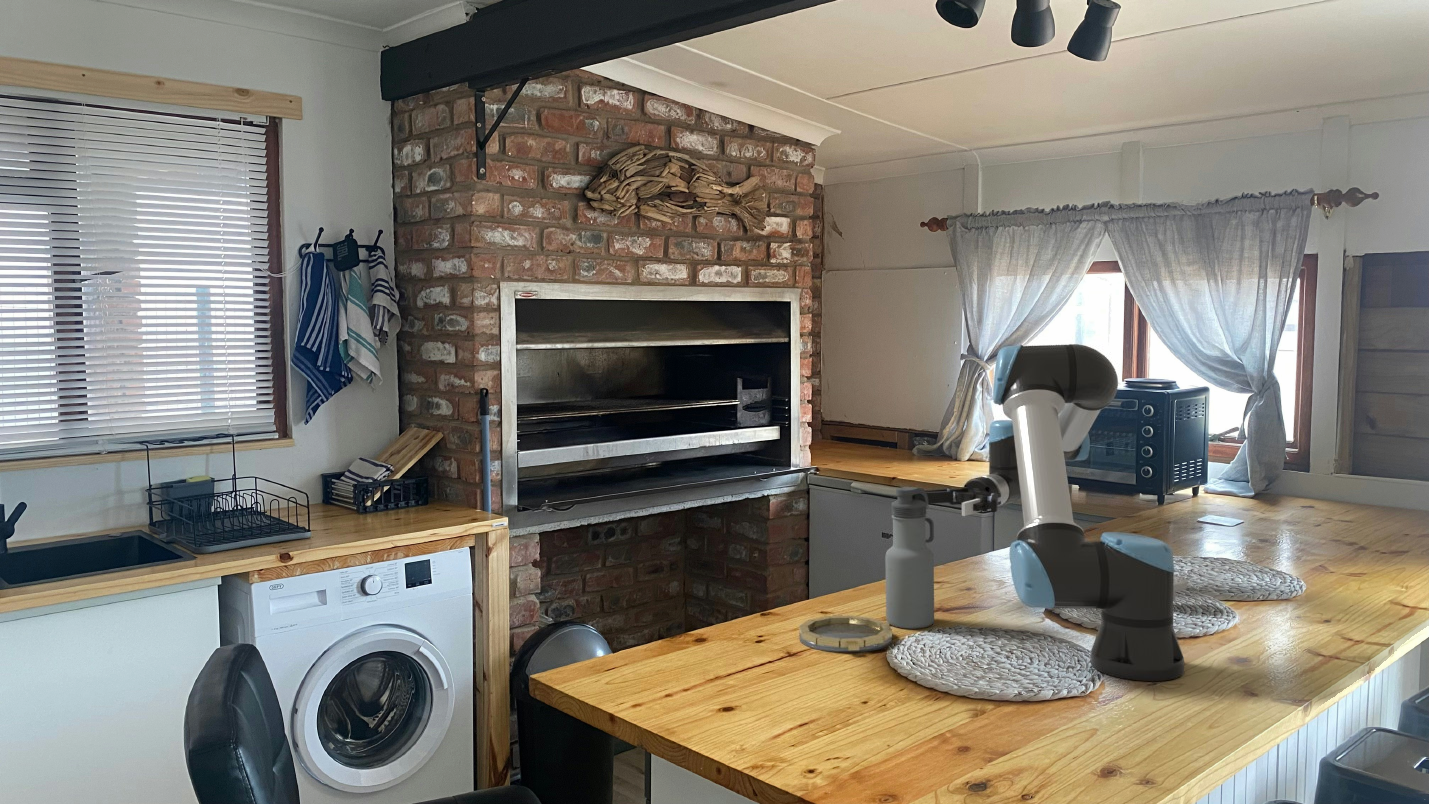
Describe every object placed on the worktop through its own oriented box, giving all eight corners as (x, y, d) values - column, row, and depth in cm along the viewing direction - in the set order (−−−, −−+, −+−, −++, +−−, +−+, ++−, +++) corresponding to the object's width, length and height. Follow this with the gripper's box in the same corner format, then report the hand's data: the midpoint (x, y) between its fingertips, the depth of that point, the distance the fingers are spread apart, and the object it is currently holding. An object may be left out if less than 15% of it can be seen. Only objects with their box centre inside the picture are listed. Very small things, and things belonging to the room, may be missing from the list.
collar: (902, 654, 189) (902, 642, 189) (805, 657, 188) (805, 645, 188) (881, 622, 210) (880, 611, 210) (794, 624, 210) (794, 614, 210)
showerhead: (1132, 569, 222) (1181, 570, 220) (1132, 601, 222) (1181, 603, 220) (1141, 579, 212) (1192, 580, 210) (1141, 613, 213) (1192, 614, 211)
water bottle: (901, 613, 217) (900, 483, 215) (943, 620, 210) (942, 486, 209) (877, 624, 209) (875, 489, 207) (920, 632, 202) (918, 493, 201)
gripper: (1036, 515, 223) (988, 530, 207) (937, 503, 240) (885, 517, 225) (1036, 481, 222) (987, 494, 207) (936, 472, 239) (885, 483, 224)
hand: (934, 506), depth 216 cm, fingers open, 13 cm apart
